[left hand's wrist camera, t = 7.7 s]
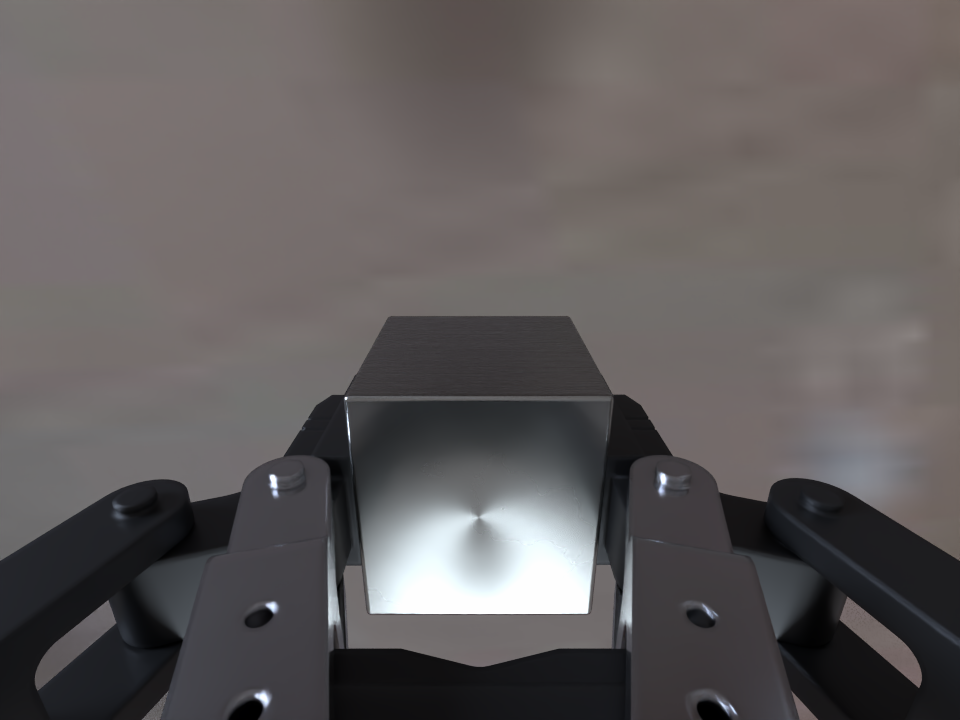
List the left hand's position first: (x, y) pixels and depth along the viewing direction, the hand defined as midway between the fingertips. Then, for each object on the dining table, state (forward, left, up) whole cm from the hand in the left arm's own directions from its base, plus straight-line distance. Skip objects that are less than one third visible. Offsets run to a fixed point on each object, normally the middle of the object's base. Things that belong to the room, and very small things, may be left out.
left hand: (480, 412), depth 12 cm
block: (0, 0, 0) cm, 0 cm away
